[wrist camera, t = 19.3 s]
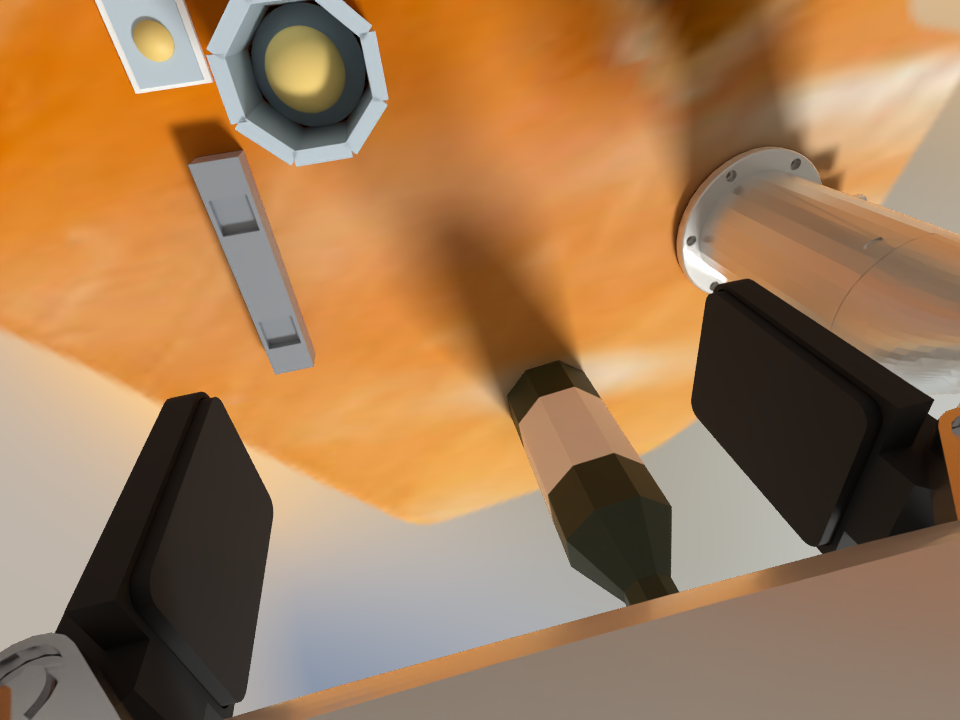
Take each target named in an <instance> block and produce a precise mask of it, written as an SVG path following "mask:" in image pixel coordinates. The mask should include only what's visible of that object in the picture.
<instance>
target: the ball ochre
mask: <svg viewBox="0 0 960 720" xmlns="http://www.w3.org/2000/svg"><path fill="white" fill-rule="evenodd" d="M265 71H266V75H267V79H268V81H269V84H270V86H271V88H272V89H273V91H274V93H275V94H276V95H277V96H278V98H279V99H280V100H281V101H283V102H284V103H285V104H286V105H288V106H289V107H291V108H293V109H295V110H297V111H300V112H304V113H318V112H322V111H325V110H327V109H329V108H330V107H332V106H333V105H334V104H335V103H336V102H337V101H338V99H339V98H340V96H341V94H342V92H343V90H344V86H345V79H346V73H345V66H344V62H343V59H342V56H341V54H340V52H339V50H338V49H337V47H336V46H335V44H334V43H333V42H332V41H331V40H330V39H329V38H328V37H327V36H326V35H325V34H323V33H322V32H320V31H318V30H316V29H314V28H311V27H308V26H301V25H297V26H290V27H287V28H285V29H283V30H281V31H280V32H278V33H277V34H276V35H275V36H274V37H273V38H272V40H271V41H270V43H269V45H268V47H267V50H266V54H265Z"/></svg>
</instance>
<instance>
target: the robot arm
mask: <svg viewBox="0 0 960 720" xmlns="http://www.w3.org/2000/svg"><path fill="white" fill-rule="evenodd" d="M677 257H678V261H679V265H680V267H681V269H682V271H683V273H684V275H685V276H686V277H687V278H688V279H689V280H690V281H691V283H692V284H694V285H695V286H697V287H698V288H699V289H701V290H702V291H704V292H706V293H708V294H709V295H708V297H707V299H706V303H705V310H704V316H703V323H702V330H701V337H700V344H699V350H698V357H697V364H696V371H695V377H694V384H693V391H692V398H691V404H692V408H693V411H694V413H695V415H696V417H697V418H698V419H699V420H700V421H701V423H702V424H703V425H704V426H705V427H706V428H707V430H708V431H709V432H710V433H711V434H712V435H713V437H714V438H715V439H716V440H717V441H718V442H719V443H720V445H721V446H722V447H723V448H724V449H725V450H726V452H727V453H728V454H729V455H730V456H731V457H732V458H733V460H734V461H735V462H736V463H737V464H738V465H739V467H740V468H741V469H742V470H743V471H744V473H745V474H746V475H747V476H748V477H749V478H750V480H751V481H752V482H753V483H754V484H755V485H756V486H757V488H758V489H759V490H760V491H761V492H762V493H763V495H764V496H765V497H766V498H767V499H768V500H769V502H770V503H771V504H772V505H773V506H774V507H775V509H776V510H777V511H778V512H779V513H780V514H781V515H782V517H783V518H784V519H785V520H786V521H787V522H788V524H789V525H790V526H791V527H792V528H793V529H794V530H795V532H796V533H797V534H798V535H799V536H800V537H801V538H802V540H803V541H804V542H805V543H807V544H808V545H810V546H814V547H815V546H816V547H817V548H818V549H819V550H820V552H821V553H822V554H821V555H817V556H814V557H810V558H806V559H802V560H799V561H795V562H791V563H787V564H783V565H780V566H776V567H772V568H768V569H765V570H761V571H757V572H753V573H750V574H746V575H742V576H739V577H735V578H731V579H727V580H723V581H720V582H716V583H712V584H708V585H704V586H701V587H697V588H693V589H690V590H686V591H682V592H679V593H675V594H671V595H667V596H664V597H660V598H656V599H653V600H649V601H645V602H642V603H638V604H634V605H631V606H627V607H624V608H620V609H616V610H613V611H609V612H605V613H601V614H598V615H594V616H590V617H587V618H583V619H579V620H576V621H572V622H568V623H564V624H561V625H557V626H554V627H550V628H546V629H542V630H539V631H535V632H532V633H528V634H524V635H521V636H517V637H513V638H510V639H506V640H502V641H499V642H495V643H492V644H488V645H484V646H481V647H477V648H473V649H470V650H466V651H463V652H459V653H456V654H452V655H448V656H445V657H441V658H438V659H434V660H430V661H427V662H423V663H420V664H416V665H412V666H409V667H405V668H402V669H398V670H394V671H391V672H387V673H383V674H380V675H376V676H373V677H369V678H365V679H362V680H358V681H355V682H351V683H347V684H344V685H340V686H337V687H333V688H329V689H326V690H322V691H319V692H316V693H312V694H309V695H306V696H302V697H299V698H295V699H292V700H289V701H285V702H282V703H278V704H275V705H272V706H268V707H265V708H262V709H258V710H255V711H252V712H248V713H245V714H241V715H238V716H234V717H232V716H233V710H234V704H235V703H238V702H241V701H242V700H243V698H244V696H245V694H246V689H247V683H248V676H249V670H250V664H251V657H252V651H253V644H254V638H255V631H256V625H257V618H258V612H259V605H260V598H261V592H262V586H263V579H264V573H265V566H266V559H267V553H268V547H269V540H270V533H271V526H272V521H273V505H272V501H271V498H270V496H269V494H268V492H267V490H266V488H265V486H264V484H263V482H262V480H261V478H260V476H259V474H258V472H257V470H256V468H255V466H254V464H253V463H252V460H251V458H250V456H249V454H248V453H247V451H246V448H245V446H244V444H243V442H242V441H241V439H240V437H239V435H238V433H237V431H236V429H235V427H234V425H233V423H232V421H231V419H230V417H229V415H228V413H227V411H226V409H225V407H224V405H223V403H222V402H221V400H220V399H219V398H217V397H213V398H210V397H209V396H208V395H207V394H206V393H205V392H198V393H193V394H188V395H183V396H178V397H174V398H170V399H167V400H166V402H165V403H164V405H163V407H162V409H161V411H160V413H159V416H158V418H157V420H156V422H155V424H154V426H153V428H152V430H151V432H150V435H149V437H148V438H147V441H146V443H145V445H144V447H143V449H142V451H141V453H140V455H139V457H138V459H137V461H136V464H135V466H134V468H133V470H132V472H131V474H130V476H129V478H128V480H127V482H126V484H125V486H124V489H123V491H122V493H121V495H120V497H119V499H118V501H117V503H116V505H115V507H114V509H113V511H112V514H111V516H110V518H109V520H108V522H107V524H106V526H105V528H104V530H103V532H102V534H101V537H100V539H99V541H98V543H97V545H96V547H95V549H94V551H93V553H92V555H91V557H90V560H89V562H88V564H87V566H86V568H85V570H84V572H83V574H82V576H81V578H80V581H79V583H78V585H77V587H76V589H75V591H74V593H73V595H72V597H71V599H70V601H69V603H68V605H67V608H66V610H65V613H64V615H63V617H62V619H61V621H60V623H59V625H58V628H57V630H56V632H55V633H47V634H42V635H36V636H32V637H30V638H27V639H25V640H23V641H20V642H18V643H15V644H13V645H11V646H10V647H8V648H7V649H5V650H3V651H2V652H0V720H960V404H959V405H958V406H957V408H955V409H952V410H949V411H946V412H945V413H944V414H943V415H942V416H941V417H940V418H939V419H938V420H936V419H935V418H933V417H932V416H930V415H929V414H928V412H929V410H930V407H931V405H932V403H933V401H934V399H932V398H931V397H929V396H928V395H932V394H956V393H960V234H957V233H955V232H952V231H949V230H946V229H943V228H941V227H938V226H935V225H932V224H929V223H926V222H924V221H921V220H918V219H916V218H913V217H910V216H907V215H904V214H902V213H899V212H896V211H893V210H891V209H888V208H885V207H882V206H879V205H877V204H874V203H871V202H868V201H867V199H866V197H865V196H864V195H863V194H858V195H853V196H852V195H849V194H846V193H843V192H841V191H838V190H835V189H832V188H829V187H827V186H824V185H822V183H821V179H820V176H819V173H818V171H817V170H816V168H815V166H814V165H813V163H812V162H811V161H810V160H808V159H807V158H806V157H805V156H804V155H802V154H800V153H798V152H795V151H793V150H790V149H786V148H782V147H769V146H767V147H761V148H756V149H752V150H749V151H746V152H744V153H741V154H739V155H737V156H735V157H734V158H732V159H730V160H728V161H727V162H725V163H724V164H723V165H721V166H720V167H719V168H718V169H716V170H715V171H714V172H713V173H711V175H710V176H709V177H708V178H707V179H706V180H705V181H704V182H703V183H702V184H701V185H700V187H699V188H698V189H697V191H696V192H695V194H694V195H693V197H692V198H691V200H690V201H689V203H688V205H687V207H686V209H685V211H684V213H683V216H682V219H681V222H680V225H679V229H678V235H677Z"/></svg>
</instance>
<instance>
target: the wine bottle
mask: <svg viewBox="0 0 960 720" xmlns="http://www.w3.org/2000/svg"><path fill="white" fill-rule="evenodd" d="M507 398H508V402H509V406H510V410H511V414H512V419H513V422H514V424H515V427H516V429H517V432H518V434H519V437H520V439H521V442H522V444H523V447H524V449H525V452H526V454H527V457H528V459H529V462H530V464H531V467H532V469H533V472H534V474H535V477H536V479H537V482H538V485H539V487H540V490H541V492H542V494H543V497H544V500H545V502H546V505H547V507H548V509H549V512H550V515H551V517H552V519H553V522H554V525H555V527H556V530H557V532H558V535H559V537H560V539H561V542H562V544H563V547H564V549H565V552H566V555H567V557H568V560H569V562H570V565H571V567H573V568H574V569H576V570H577V571H579V572H580V573H582V574H583V575H584V576H586V577H587V578H589V579H591V580H592V581H593V582H595V583H596V584H598V585H599V586H601V587H602V588H604V589H605V590H607V591H608V592H610V593H611V594H613V595H614V596H616V597H617V598H619V599H620V600H621V601H623V602H624V603H625V604H626V606H631V605H634V604H638V603H642V602H645V601H649V600H653V599H656V598H660V597H664V596H667V595H671V594H675V593H679V591H678V589H677V587H676V585H675V584H674V582H673V580H672V578H671V531H672V530H671V526H672V522H671V521H672V516H671V515H672V510H671V508H672V507H671V505H670V504H669V502H668V501H667V499H666V497H665V496H664V494H663V493H662V491H661V490H660V488H659V487H658V485H657V484H656V482H655V481H654V479H653V477H652V476H651V474H650V473H649V471H648V470H647V468H646V467H645V465H644V464H643V462H642V461H641V459H640V458H639V456H638V454H637V453H636V451H635V450H634V448H633V447H632V445H631V444H630V442H629V441H628V439H627V438H626V436H625V435H624V433H623V431H622V430H621V428H620V427H619V425H618V424H617V422H616V421H615V419H614V418H613V416H612V415H611V413H610V411H609V410H608V408H607V407H606V405H605V404H604V402H603V401H602V399H601V398H600V396H599V395H598V393H597V392H596V390H595V388H594V387H593V385H592V384H591V382H590V381H589V379H588V378H587V376H586V375H585V373H584V372H582V371H580V370H578V369H576V368H573V367H571V366H569V365H567V364H565V363H563V362H561V361H556V362H553V363H549V364H546V365H543V366H539V367H536V368H533V369H529V370H526V371H525V373H524V374H523V375H522V377H521V378H520V379H519V381H518V382H517V383H516V385H515V386H514V387H513V389H512V390H511V391H510V393H509V394H508V395H507Z"/></svg>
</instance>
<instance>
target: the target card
mask: <svg viewBox="0 0 960 720" xmlns="http://www.w3.org/2000/svg"><path fill="white" fill-rule="evenodd" d="M95 2H96V4H97V6H98V9H99V11H100V13H101V15H102V18H103V20H104V22H105V24H106V27H107V29H108V31H109V34H110V36H111V38H112V40H113V43H114V45H115V47H116V50H117V52H118V54H119V56H120V59H121V61H122V63H123V65H124V68H125V70H126V72H127V75H128V77H129V79H130V81H131V84H132V86H133V88H134V90H135V93H136V94H137V93H144V92H151V91H158V90H164V89H171V88H178V87H185V86H191V85H198V84H205V83H212V82H214V80H213V78H212V75H211V72H210V69H209V67H208V64H207V61H206V58H205V55H204V53H203V50H202V47H201V44H200V41H199V39H198V36H197V33H196V30H195V28H194V25H193V22H192V19H191V16H190V14H189V11H188V8H187V5H186V2H185V0H95Z"/></svg>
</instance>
